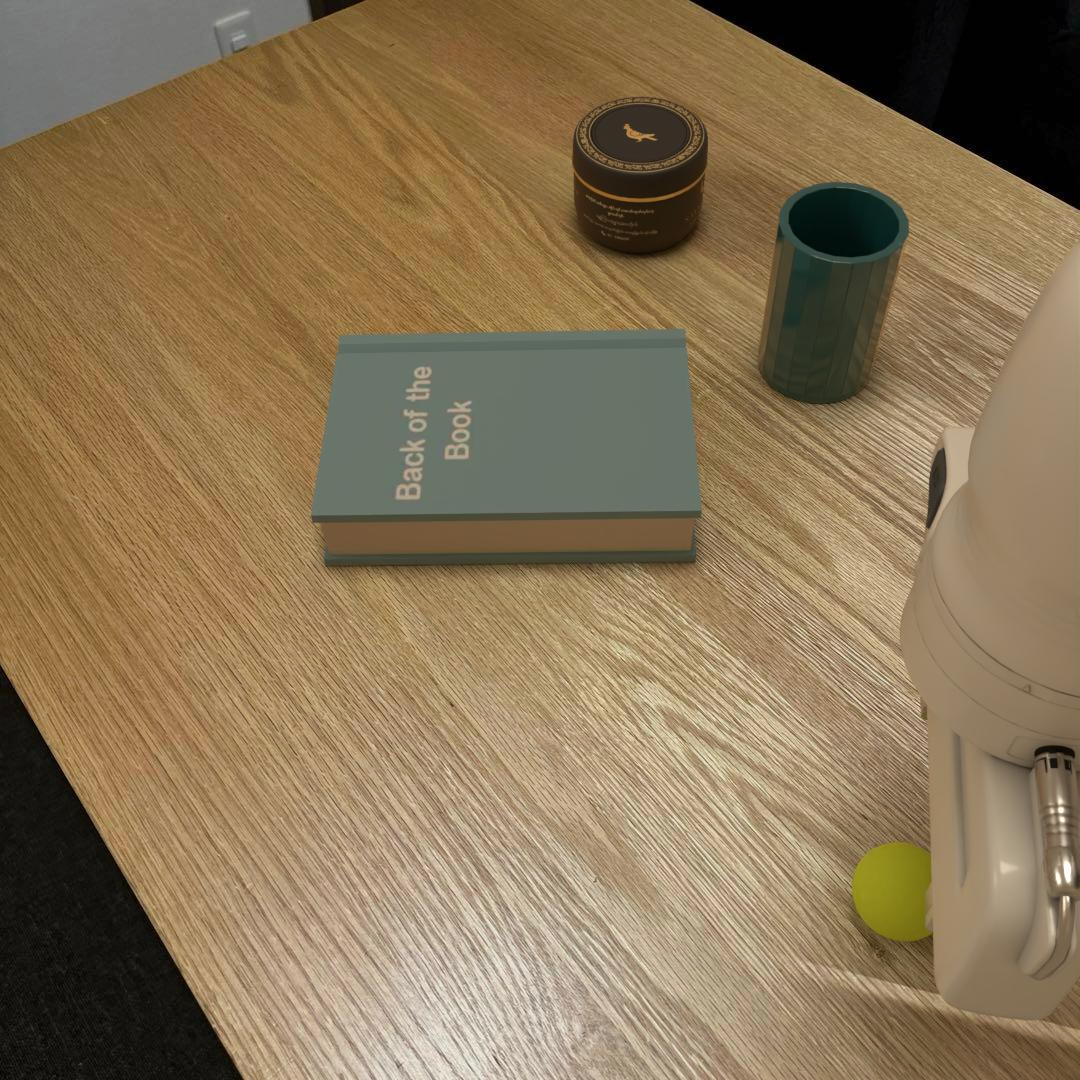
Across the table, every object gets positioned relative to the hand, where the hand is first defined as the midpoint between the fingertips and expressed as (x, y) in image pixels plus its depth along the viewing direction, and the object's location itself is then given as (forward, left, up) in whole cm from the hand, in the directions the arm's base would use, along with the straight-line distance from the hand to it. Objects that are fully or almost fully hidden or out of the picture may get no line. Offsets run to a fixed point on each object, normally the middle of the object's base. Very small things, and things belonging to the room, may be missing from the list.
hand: (942, 806), depth 50 cm
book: (+24, -26, -12) cm, 37 cm away
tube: (+5, -38, -12) cm, 40 cm away
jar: (+19, -52, -12) cm, 57 cm away
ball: (0, 0, -10) cm, 10 cm away
